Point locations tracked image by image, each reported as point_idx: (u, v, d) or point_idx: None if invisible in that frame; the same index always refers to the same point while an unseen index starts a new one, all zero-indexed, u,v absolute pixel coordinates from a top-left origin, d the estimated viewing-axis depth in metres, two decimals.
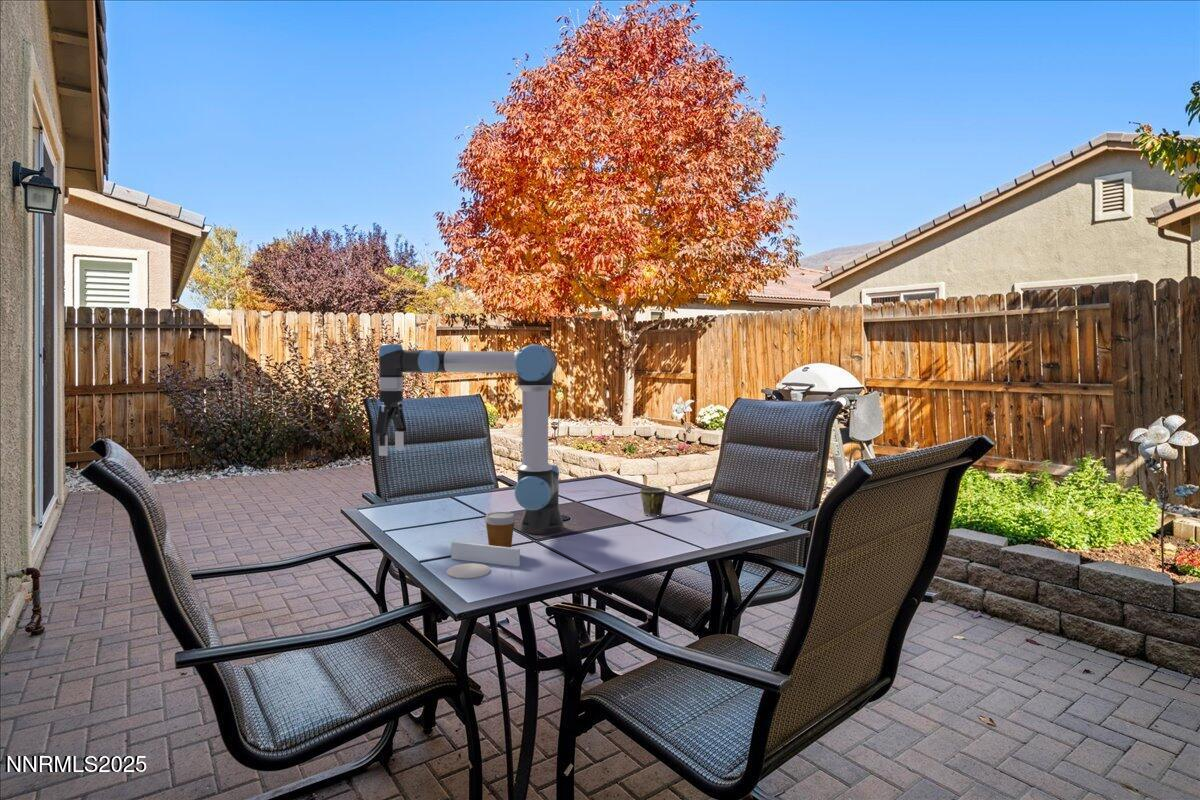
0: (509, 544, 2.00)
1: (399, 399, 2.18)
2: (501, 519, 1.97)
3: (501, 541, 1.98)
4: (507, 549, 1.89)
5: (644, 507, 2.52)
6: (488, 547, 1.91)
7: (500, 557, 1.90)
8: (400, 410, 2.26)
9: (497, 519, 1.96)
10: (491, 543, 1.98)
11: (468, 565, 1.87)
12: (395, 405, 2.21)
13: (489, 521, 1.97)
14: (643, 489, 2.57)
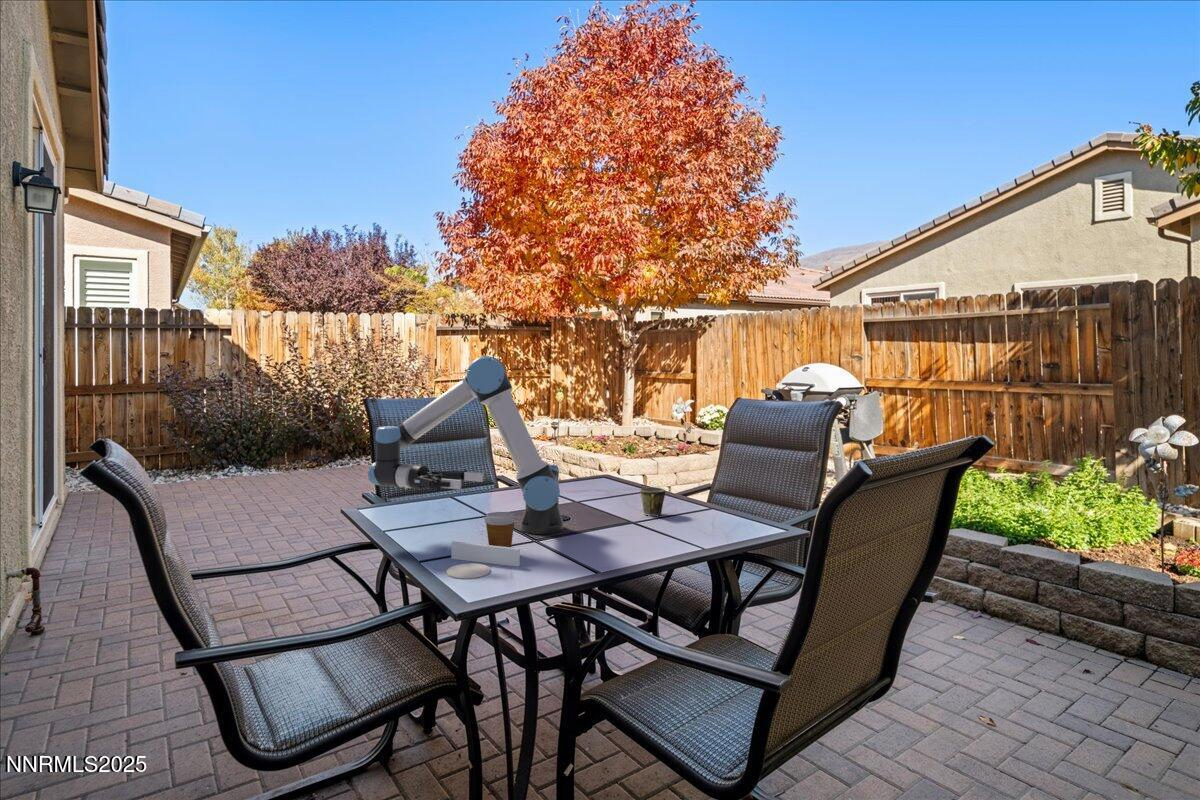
0: (509, 544, 2.00)
1: (419, 467, 2.08)
2: (501, 519, 1.97)
3: (501, 541, 1.98)
4: (507, 549, 1.89)
5: (644, 507, 2.52)
6: (488, 547, 1.91)
7: (500, 557, 1.90)
8: None
9: (497, 519, 1.96)
10: (491, 543, 1.98)
11: (468, 565, 1.87)
12: None
13: (489, 521, 1.97)
14: (643, 489, 2.57)
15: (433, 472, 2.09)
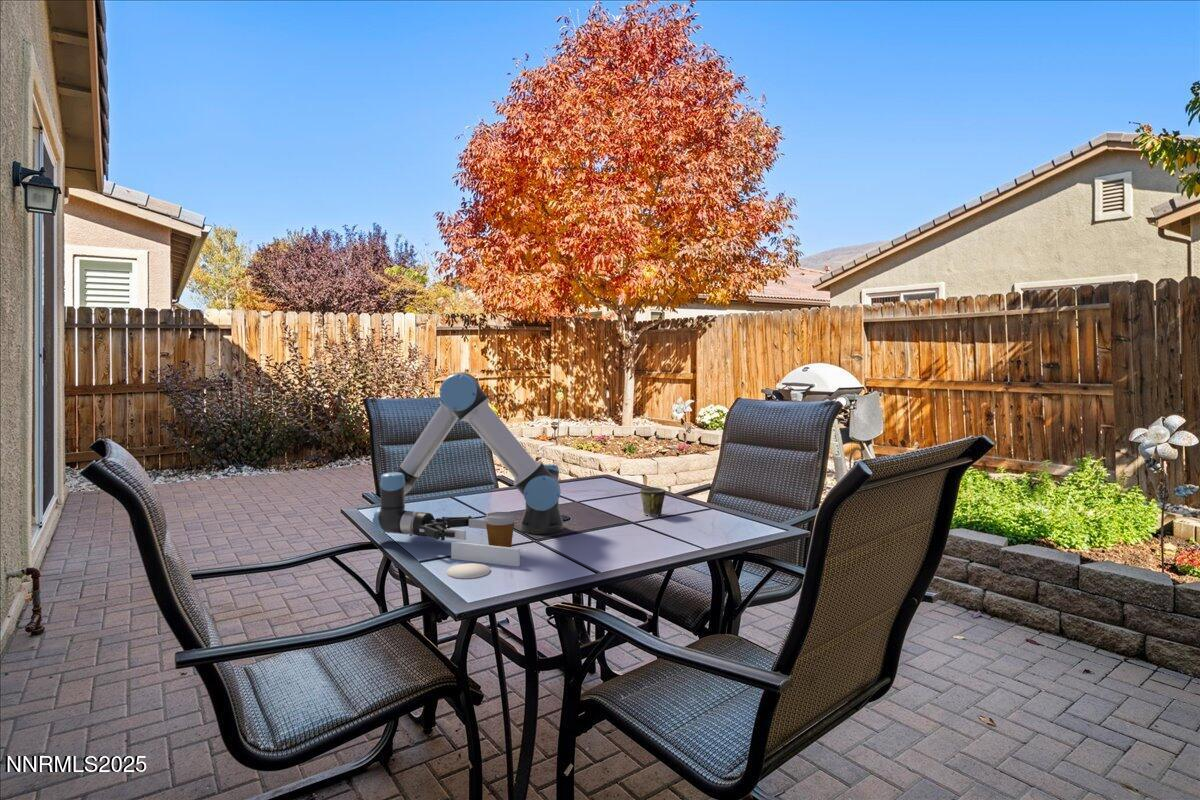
0: (509, 544, 2.00)
1: (423, 514, 2.08)
2: (501, 519, 1.97)
3: (501, 541, 1.98)
4: (507, 549, 1.89)
5: (644, 507, 2.52)
6: (488, 547, 1.91)
7: (500, 557, 1.90)
8: None
9: (497, 519, 1.96)
10: (491, 543, 1.98)
11: (468, 565, 1.87)
12: None
13: (489, 521, 1.97)
14: (643, 489, 2.57)
15: (438, 520, 2.09)
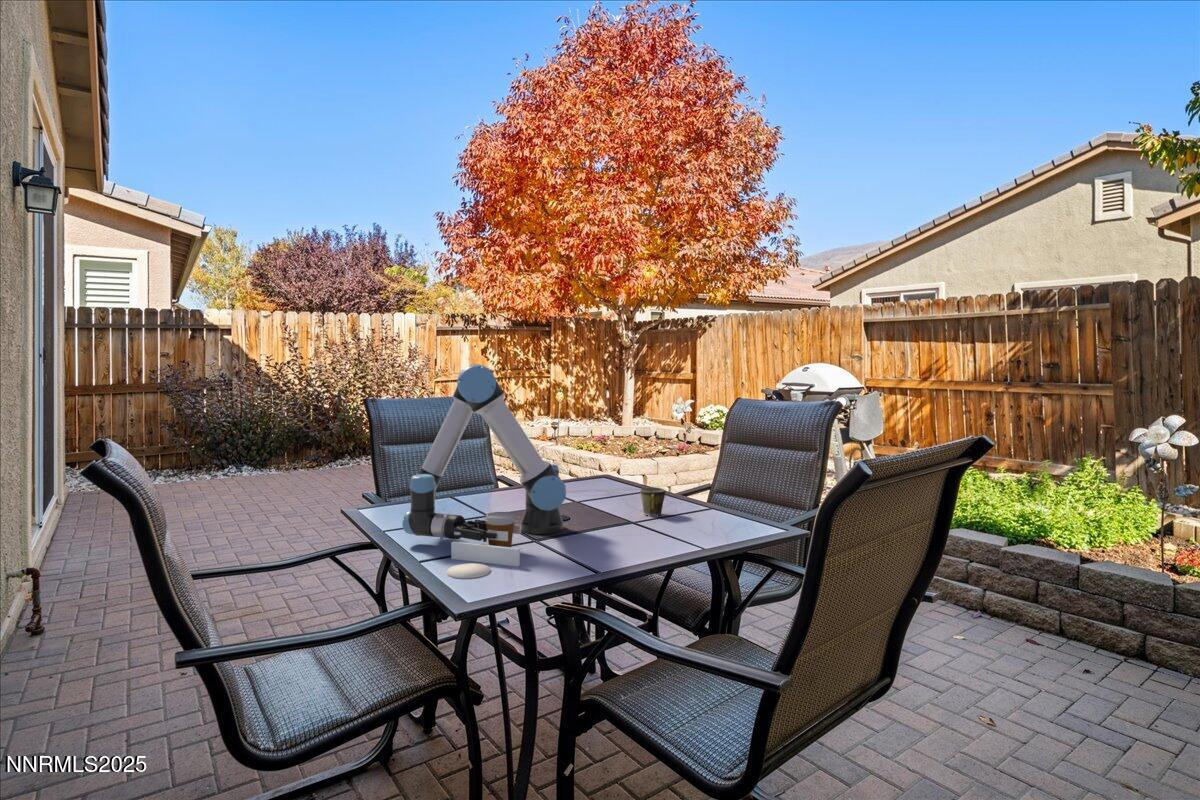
0: (509, 544, 2.00)
1: (455, 517, 2.04)
2: (501, 519, 1.96)
3: (501, 541, 1.98)
4: (507, 549, 1.89)
5: (644, 507, 2.52)
6: (488, 547, 1.91)
7: (500, 557, 1.90)
8: None
9: (497, 519, 1.96)
10: (491, 543, 1.98)
11: (468, 565, 1.87)
12: None
13: (489, 521, 1.97)
14: (643, 489, 2.57)
15: (469, 522, 2.05)
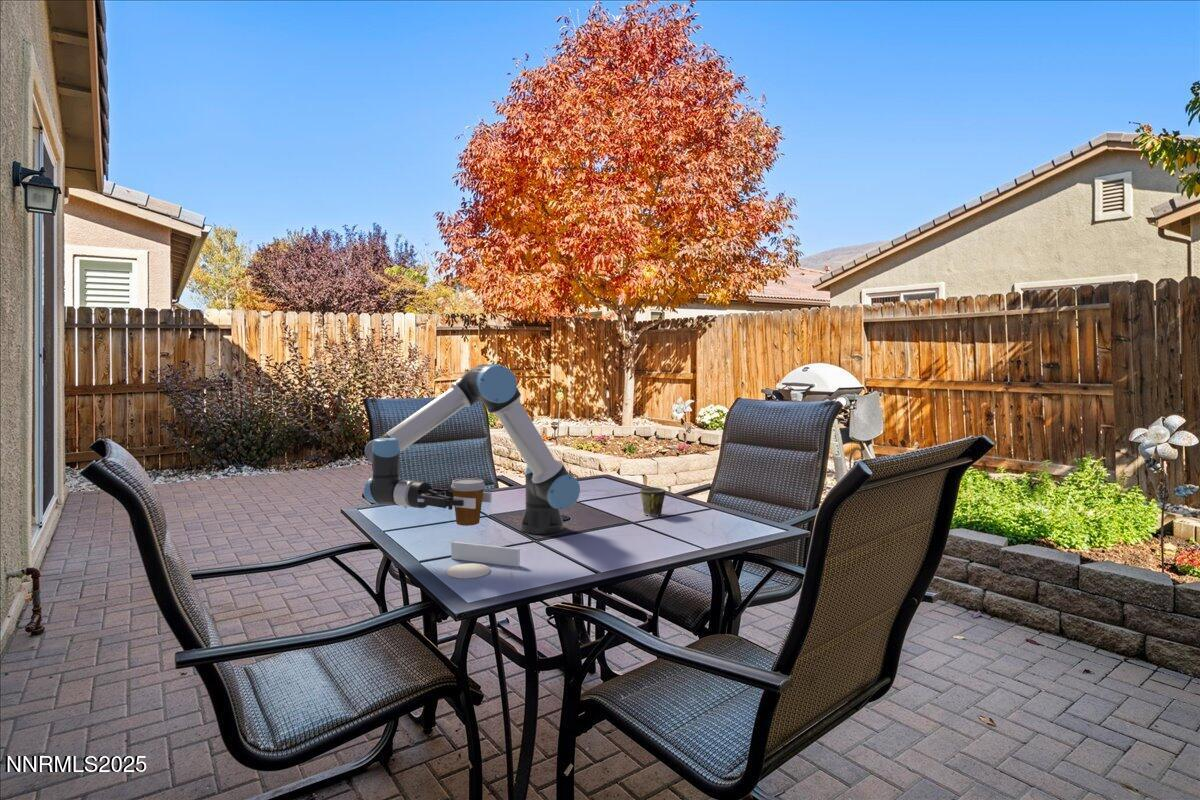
0: (477, 513, 1.82)
1: (420, 483, 1.87)
2: (468, 485, 1.79)
3: (468, 509, 1.80)
4: (507, 549, 1.89)
5: (644, 507, 2.52)
6: (488, 547, 1.91)
7: (500, 557, 1.90)
8: None
9: (464, 485, 1.79)
10: (457, 511, 1.81)
11: (468, 565, 1.87)
12: None
13: (455, 487, 1.80)
14: (643, 489, 2.57)
15: (435, 489, 1.88)
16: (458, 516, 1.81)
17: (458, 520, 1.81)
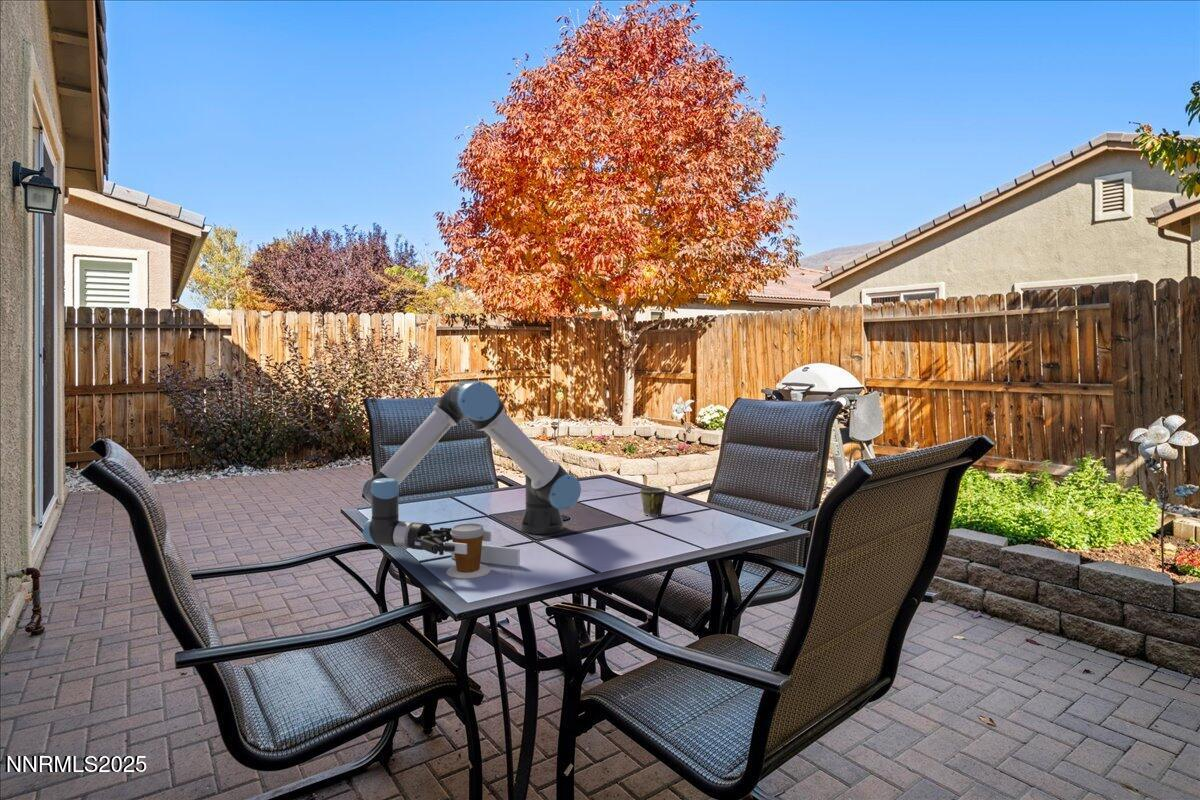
0: (477, 559, 1.82)
1: (419, 525, 1.86)
2: (468, 532, 1.79)
3: (469, 556, 1.80)
4: (507, 549, 1.89)
5: (644, 507, 2.52)
6: (488, 547, 1.91)
7: (500, 557, 1.90)
8: (446, 530, 1.92)
9: (463, 532, 1.79)
10: (457, 558, 1.81)
11: None
12: None
13: (455, 534, 1.80)
14: (643, 489, 2.57)
15: (435, 531, 1.87)
16: (458, 563, 1.81)
17: (458, 567, 1.81)
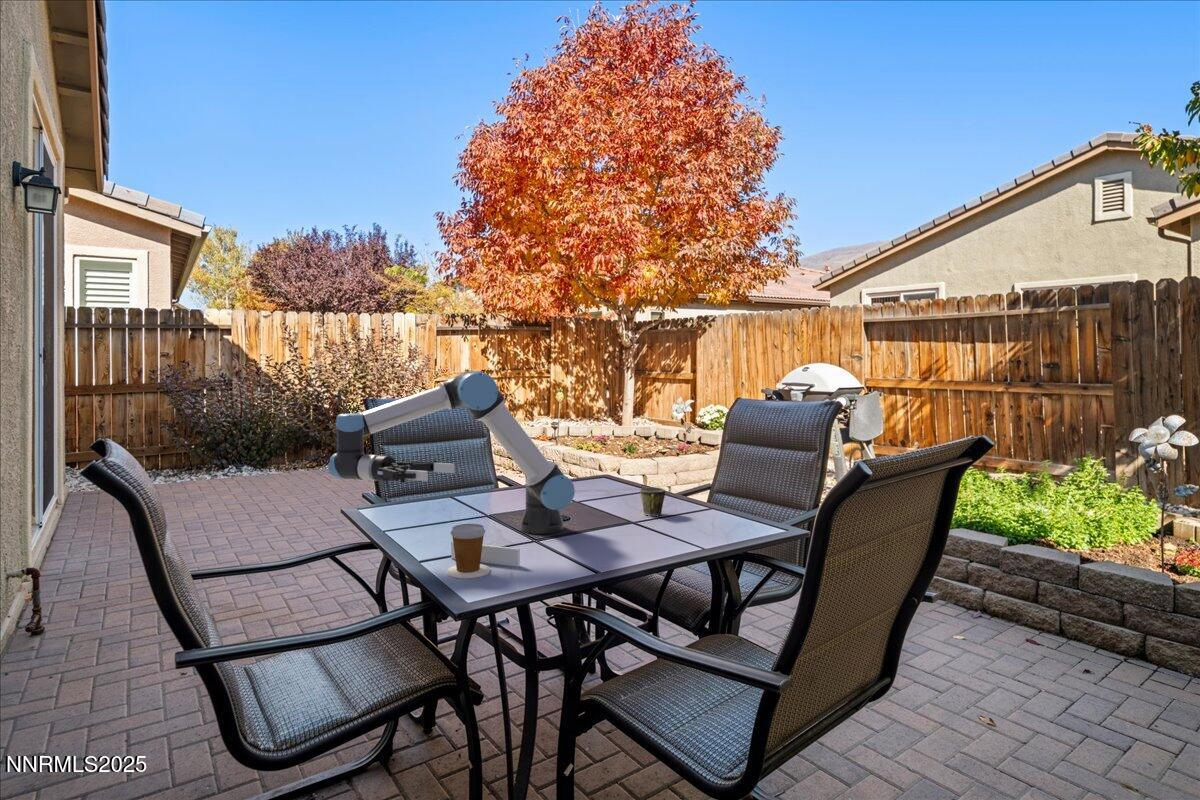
0: (478, 559, 1.82)
1: (383, 457, 1.89)
2: (468, 532, 1.79)
3: (469, 556, 1.80)
4: (507, 549, 1.89)
5: (644, 507, 2.52)
6: (488, 547, 1.91)
7: (500, 557, 1.90)
8: None
9: (464, 532, 1.79)
10: (458, 558, 1.81)
11: None
12: None
13: (455, 534, 1.80)
14: (643, 489, 2.57)
15: (399, 463, 1.90)
16: (459, 563, 1.81)
17: (458, 567, 1.81)
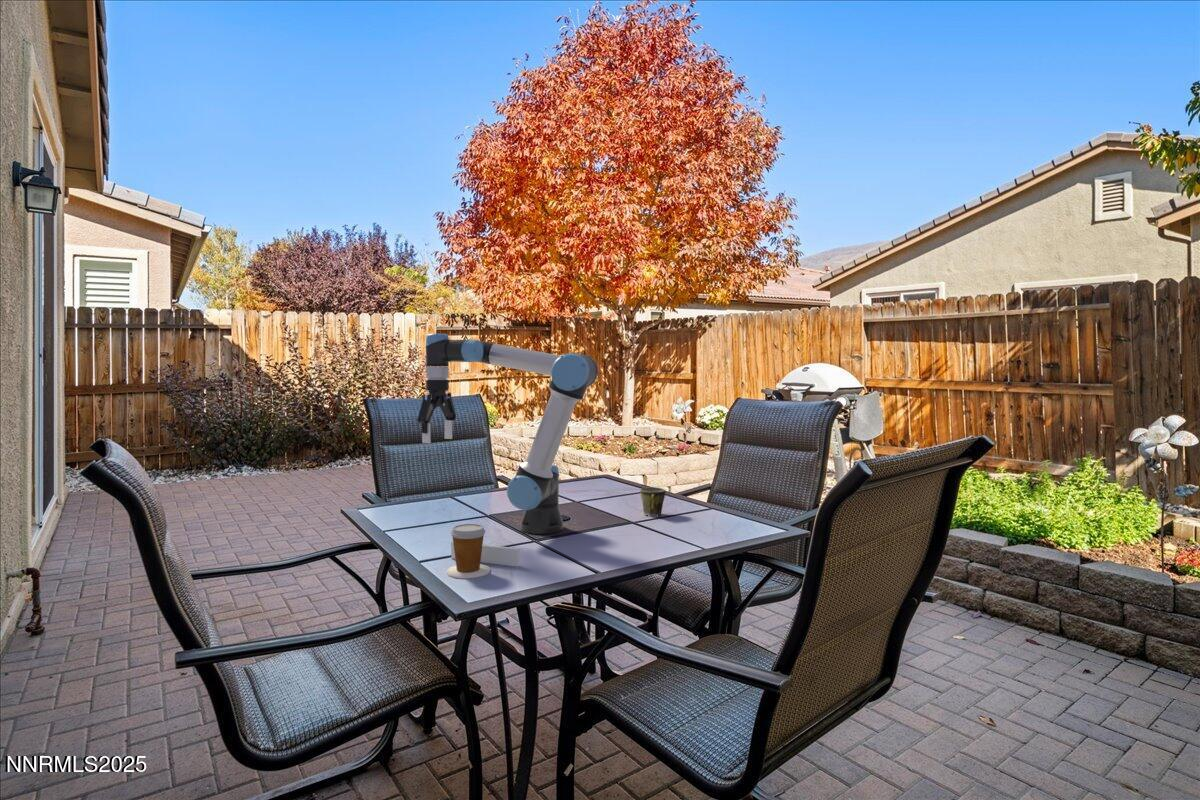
0: (478, 559, 1.82)
1: (444, 388, 2.21)
2: (468, 532, 1.79)
3: (469, 556, 1.80)
4: (507, 549, 1.89)
5: (644, 507, 2.52)
6: (488, 547, 1.91)
7: (500, 557, 1.90)
8: (449, 399, 2.29)
9: (464, 532, 1.79)
10: (458, 558, 1.81)
11: None
12: (441, 394, 2.24)
13: (455, 534, 1.80)
14: (643, 489, 2.57)
15: (442, 398, 2.24)
16: (459, 563, 1.81)
17: (458, 567, 1.81)
